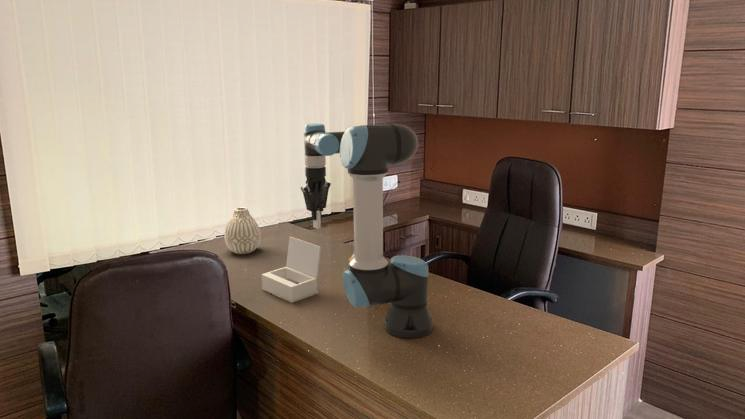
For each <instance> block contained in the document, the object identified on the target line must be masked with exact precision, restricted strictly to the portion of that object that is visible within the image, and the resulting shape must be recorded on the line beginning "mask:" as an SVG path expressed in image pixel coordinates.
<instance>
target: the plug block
mask: <svg viewBox="0 0 745 419" xmlns="http://www.w3.org/2000/svg"><path fill="white" fill-rule="evenodd" d="M285 280H288V281H290V282H293V283H295V284H299V282H297V281H295V280H292V279H290V278H288V279H285Z"/></svg>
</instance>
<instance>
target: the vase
mask: <svg viewBox="0 0 745 419" xmlns="http://www.w3.org/2000/svg"><path fill="white" fill-rule="evenodd" d="M261 233H262V232H261V229H260V227H259V224H258V222H257V221H256V219H255V218H254V217H253V215H251V214H250V211H249V209H248V207H244V206H243V207H242V206H240V207H238V206H237V207H235V208H234V210H233V214H232V216H231V218H230V219H229V221H228V222H227V224H226V226H225V228H224V236H223V237H224V243H225V244H226V247H227V248H228V249H229V250H230V251H231V252H232V253H234V254H236V255H248V254H251V253H253V252H254V251H255V250H256V249H257V248H258V247H259V245H260V243H261V240H262V239H261V238H262V234H261Z"/></svg>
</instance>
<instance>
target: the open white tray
mask: <svg viewBox="0 0 745 419" xmlns="http://www.w3.org/2000/svg"><path fill="white" fill-rule="evenodd" d="M288 278H290V279H292V280H295V281H297V282H299V284H295V283H293V282H290V281H288V280H285V279H288ZM317 281H318V278H316V277H313V276H311V275H308V274H306V273H303V272H301V271H298V270H296V269H293V268H291V267H288V266H284V267H281V268H277V269H274V270H271V271H267V272H265V273H261V286H262V287H261V289H262V290H263V291H265V292H267V293H269V294H271V293H272V294H271V295H274V296H276V297H278V298H280V299H282V300H284V301H287V302H289V303H291V304H294V303H296V302H299V301H302V300H304V299H307V298H309V297H312V296H315V295H318V294H319V291H318V282H317Z"/></svg>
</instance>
